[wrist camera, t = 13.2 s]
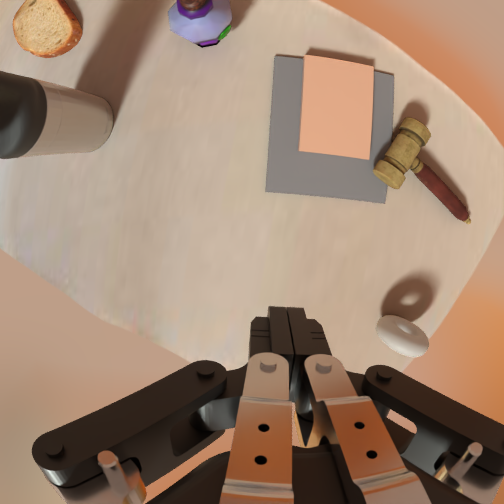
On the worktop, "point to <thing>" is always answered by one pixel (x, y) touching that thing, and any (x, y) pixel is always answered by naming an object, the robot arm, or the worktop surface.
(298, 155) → the mat
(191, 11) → the potion bottle
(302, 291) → the worktop surface
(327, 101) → the tile
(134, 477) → the robot arm
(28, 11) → the slice of bread
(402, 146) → the gavel
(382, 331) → the donut
